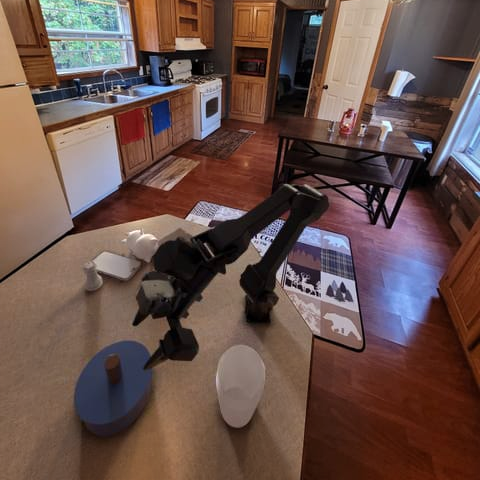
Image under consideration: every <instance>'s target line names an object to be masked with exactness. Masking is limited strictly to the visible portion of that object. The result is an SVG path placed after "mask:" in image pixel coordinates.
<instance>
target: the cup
mask: <svg viewBox="0 0 480 480" xmlns="http://www.w3.org/2000/svg"><path fill="white" fill-rule="evenodd" d="M217 364H218V365H217V371H216V376H215V385H216V392H217V397H218V403H219V409H220V413H221V416H222V418H223V420H224V421H225V422H226V424H227V425H228V426H230V427H231V428H236V429H237V428H238V429H239V428H242V427H244V426H246V425H248V423H249V422H250V420H251V419H252V417H253V415H254V414H255V411H256V409H257V407H258V405H259V403H260V401H261V399H262V397H263V394H264V392H265V391H264V390H265V383H266V382H265V380H266V367H265V363H264V361H263V359H262V357H261V356H260V354H259V353H258V351H256V350H255V349H254V348H253V347H251V346H249V345H246V344H236V345H232V346H230V347H229V348H227V349H226V350H225V351H224V352H223V354H221V357H219V361H218V363H217Z"/></svg>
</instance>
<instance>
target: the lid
mask: <svg viewBox="0 0 480 480" xmlns="http://www.w3.org/2000/svg"><path fill="white" fill-rule="evenodd" d="M151 356H152V355H151V353H150V351H149V349H148V348H147V347H146V346H145V345H144V344H142V343H141V342H139V341H136V340H130V339H126V340H125V339H124V340H119V341H115V342H113V343H111V344H109V345H107V346H105V347H104V348H102V349H101V350H99V351H98V352H97V353H96V354H95V355H93V356H92V357H91V359H90V360H89V361H88V362H87V363H86V364H85V366H84V368H83V369H82V370H81V372H80V375H79V377H78V379H77V381H76V383H75V387H74V393H73V405H74V409H75V412H76V413H77V416H78V417H79V418H80V419H81V420H82V421H83V422H86V423H88V424H90V425H95V426H102V425H108V424H111V423H114V422H116V421H118V420H120V419H121V418H123V417H124V416H126V415H127V414H128V413H129V412H131V411H132V410H133V409H134V408H135V407H136V406H137V404H138V403H139V402H140V401H141V399H142V398H143V396H144V394H145V393H146V391H147V389H148V386H149V384H150V380H152V377H153V376H152V375H153V368H151V369H149V370H143V367H144V365H145V364H146V362H147V361H148V360H149V358H150V357H151Z"/></svg>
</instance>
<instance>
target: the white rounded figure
mask: <svg viewBox="0 0 480 480" xmlns="http://www.w3.org/2000/svg"><path fill="white" fill-rule="evenodd" d="M124 236H125V237H126V238H124V239H122V240H121V243H122V244H123V245H125V247H126V248H127V249H128V250H129V251H131V252H132V253H131V254H132V255H134V256H135V257H136V258H137V259H140V260H144V261H145V262H146V263H150V262H151V260H152V257H154V256H155V253H156V251H157V248H158V242H157V241H158V239H157V238H156V236H154V235H153V234H151V233H146V234H145V229H143V228H141V229H139V230H138V229H137V230H133V231H131V232H128V231H126V232H124Z"/></svg>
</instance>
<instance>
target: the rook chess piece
mask: <svg viewBox="0 0 480 480" xmlns="http://www.w3.org/2000/svg"><path fill="white" fill-rule="evenodd" d="M96 267H97V264H96V263H95V262H94V261H93V260H92V261H90V260H89V261H88V262H86V263H85V264H84V266H83V271H84V273H85V275H86V279H85V282H84V288H85V290H86V291H89V292H94V291H96V290H98V289H99V288H100V287H101V286H102V285H103V278H102V276H101V275H99V274H98V272H97V268H96Z"/></svg>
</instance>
